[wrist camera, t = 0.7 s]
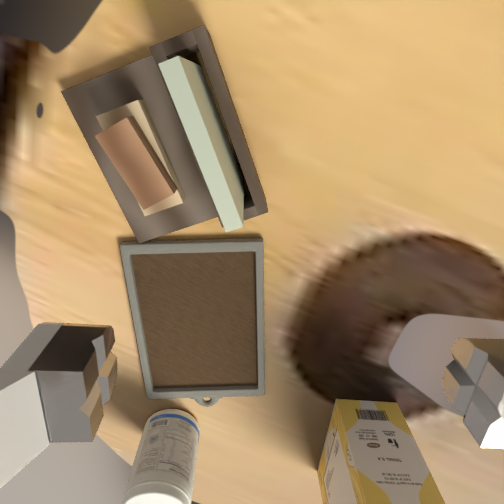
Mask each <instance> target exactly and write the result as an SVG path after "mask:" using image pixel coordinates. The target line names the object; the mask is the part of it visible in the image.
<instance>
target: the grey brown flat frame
mask: <svg viewBox="0 0 504 504" xmlns="http://www.w3.org/2000/svg"><path fill="white" fill-rule="evenodd" d="M120 251H121V257H122V262H123V268H124V273H125V279H126V284H127V290H128V295H129V301H130V306H131V312H132V317H133V323H134V328H135V334H136V339H137V345H138V350H139V356H140V361H141V367H142V372H143V378H144V383H145V389H146V394H147V398H148V399H166V398H191V399H195V401H196V402H197V403H199V404H200V405H202V406H205V407H209V406H212V405H214V404H216V403H217V402H218V400H219V398H222V397H238V396H264V395H265V360H264V250H263V238H236V239H197V240H159V241H145V242H142V243H139V242H138V241H124V242H121V244H120ZM204 397H209V398H211V401H208V402H207V401H204V400H203V398H204Z"/></svg>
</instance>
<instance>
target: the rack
mask: <svg viewBox="0 0 504 504" xmlns="http://www.w3.org/2000/svg"><path fill="white" fill-rule="evenodd" d="M149 48H150V50H151V53H152V55H150V56H148V57H145V58H143V59H141V60H138V61H136V62H133V63H131V64H128V65H126V66H123V67H121V68H118V69H116V70H113V71H111V72H108V73H106V74H103V75H101V76H98V77H96V78H94V79H91V80H89V81H86V82H84V83H81V84H79V85H76V86H74V87H71V88H69V89H66V90H64V91H61V92H62V94H63V96H64V98H65V100H66V102H67V104H68V106H69V108H70V110H71V112H72V114H73V116H74V118H75V120H76V122H77V124H78V126H79V127H80V129H81V131H82V133H83V135H84V137H85V139H86V141H87V143H88V145H89V147H90V149H91V151H92V153H93V155H94V157H95V159H96V161H97V163H98V164H99V166H100V168H101V170H102V172H103V174H104V176H105V178H106V180H107V182H108V184H109V186H110V188H111V190H112V192H113V194H114V196H115V198H116V200H117V201H118V203H119V205H120V207H121V209H122V211H123V213H124V215H125V217H126V219H127V221H128V223H129V225H130V227H131V229H132V231H133V233H134V235H135V237H136V238H137V240H138V242H139V243H142V242H145V241H148V240H151V239H154V238H157V237H160V236H162V235H165V234H168V233H171V232H174V231H177V230H180V229H183V228H186V227H189V226H192V225H195V224H198V223H201V222H204V221H207V220H210V219H213V218H216V217H218V218H219V221H220V223H221V226H222V227H224V226H223V224H222V221H221V219H220V216H219V214H218V211H217V209H216V206H215V204H214V201H213V199H212V196H211V194H210V191H209V189H208V186H207V184H206V181H205V179H204V176H203V174H202V171H201V169H200V166H199V164H198V161H197V159H196V156H195V154H194V152H193V149H192V147H191V144H190V142H189V139H188V137H187V134H186V132H185V129H184V127H183V124H182V122H181V119H180V117H179V114H178V112H177V109H176V107H175V104H174V102H173V99H172V97H171V94H170V92H169V89H168V87H167V84H166V82H165V79H164V77H163V75H162V72H161V70H160V67H159V65H158V64H159V63H161V62H164V61H166V60H169V59H171V58H174V57H176V56H180V57H182V58H183V57H186V56H188V55H191V54H193V53H196V52H198V51H200V54H201V56H202V59H203V62H204V65H205V68H206V70H207V73H208V76H209V79H210V82H211V84H212V87H213V90H214V93H215V96H216V98H217V101H218V104H219V107H220V110H221V112H222V115H223V118H224V121H225V124H226V127H227V129H228V132H229V135H230V138H231V141H232V143H233V146H234V149H235V152H236V155H237V157H238V160H239V163H240V166H241V169H242V171H243V174H244V177H245V180H246V183H247V185H248V188H249V191H250V194H247V195H244V211H243V220H246V219H249V218H252V217H255V216H258V215H261V214H264V213H267V212H268V208H267V203H266V198H265V195H264V192H263V189H262V186H261V183H260V180H259V177H258V174H257V171H256V168H255V165H254V162H253V159H252V156H251V154H250V151H249V148H248V145H247V142H246V139H245V136H244V133H243V130H242V127H241V124H240V121H239V118H238V115H237V113H236V110H235V107H234V104H233V101H232V98H231V95H230V92H229V89H228V86H227V83H226V80H225V77H224V74H223V71H222V69H221V66H220V63H219V60H218V57H217V54H216V51H215V48H214V45H213V42H212V39H211V36H210V33H209V32H208V30H207V29H206V27H205V26H204V25H203V26H201V27H198V28H196V29H193V30H191V31H188V32H186V33H183V34H181V35H178V36H176V37H174V38H171V39H169V40H166V41H164V42H161V43H159V44H156V45H154V46H151V47H149ZM141 99H144V101H145V103H146V105H147V108H148V110H149V112H150V115H151V117H152V119H153V122H154V124H155V126H156V129H157V131H158V133H159V136H160V138H161V140H162V142H163V145H164V147H165V149H166V152H167V154H168V156H169V159H170V161H171V163H172V166H173V168H174V170H175V173H176V175H177V177H178V180H179V182H180V184H181V186H182V189H183V191H184V193H185V196H186V198H185V200H184V202H183V203H182V204H179V205H176V206H173V207H170V208H167V209H164V210H161V211H159V212H156V213H153V214H150V215H147V216H144V214H143V212H142V210H141V208H140V206H139V203H138V201H137V199H136V198H135V196H134V195H133V193H132V192H131V190H130V189H129V187H128V186H127V184H126V183H125V181H124V180H123V178H122V177H121V175H120V174H119V172H118V171H117V169H116V168H115V166H114V165H113V163H112V162H111V160H110V159H109V157H108V156H107V154H106V153H105V151H104V150H103V148H102V147H101V145H100V143H99V142H98V140H97V139H96V137H95V136H96V135H97V134H99V133H101V132H103V130H102V128H101V126H100V124H99V122H98V120H97V118H96V116H98V115H100V114H103V113H106V112H108V111H111V110H113V109H116V108H118V107H121V106H123V105H126V104H129V103H131V102H134V101H136V100H141Z"/></svg>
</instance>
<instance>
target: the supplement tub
mask: <svg viewBox="0 0 504 504" xmlns="http://www.w3.org/2000/svg"><path fill="white" fill-rule="evenodd" d="M199 435H200V428H199V425H198V422H197V421H196V419H195V418H194V417H193V416H191V415H190V414H188V413H187V412H184V411H182V410H178V409H165V410H161V411H158V412H156V413H154V414H153V415H152V416H151V417H150V418H149V419H148V420H147V422H146V424H145V427H144V430H143V433H142V436H141V440H140V443H139V447H138V450H137V453H136V457H135V460H134V463H133V467H132V470H131V474H130V477H129V480H128V484H127V487H126V490H125V494H124V497H123V504H191V499H192V492H193V484H194V475H195V467H196V460H197V452H198V444H199Z"/></svg>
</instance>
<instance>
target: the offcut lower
mask: <svg viewBox="0 0 504 504" xmlns="http://www.w3.org/2000/svg"><path fill="white" fill-rule="evenodd" d="M130 116H134V117H135V119H136V121H137V122H138V124H139V126H140V127H141V129H142V130H143V132H144V134H145V135H146V137H147V139H148V140H149V142H150V144H151V145H152V147H153V149H154V150H155V152H156V154H157V155H158V157H159V158H160V160H161V162H162V163H163V165H164V167H165V168H166V170H167V172H168V173H169V175H170V177H171V178H172V180H173V182H174V183H175V185H176V186H177V188H178V189H177V190H176V192H175V193H174V194H173V195H171V196H169V197H168V198H166V199H164V200H162V201H160V202H158V203H156V204H154V205H152V206H150V207H149V208H147V209H145V210H143V208H142V207H141V205H140V204H139V206H140V208H141V210H142V212H143V214H144V216H147V215H150V214H153V213H156V212H159V211H161V210H164V209H167V208H170V207H173V206H176V205H179V204H182V203H183V202H184V200H185V198H186V196H185V193H184V191H183V189H182V186H181V184H180V182H179V180H178V177H177V175H176V173H175V170H174V168H173V166H172V163H171V161H170V159H169V156H168V154H167V152H166V149H165V147H164V145H163V142H162V140H161V138H160V136H159V133H158V131H157V129H156V126H155V124H154V122H153V119H152V117H151V115H150V112H149V110H148V108H147V105H146V103H145V101H144V99H141V100H136V101H134V102H131V103H129V104H126V105H123V106H121V107H118V108H116V109H113V110H111V111H108V112H106V113H103V114H100V115H98V116H96V118H97V120H98V122H99V124H100V126H101V128H102V130H103V131H104V130H106V129H108V128H109V127H111V126H113V125H115V124H116V123H118V122H120V121H121V120H123V119H125V118H127V117H130ZM138 203H139V202H138Z"/></svg>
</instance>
